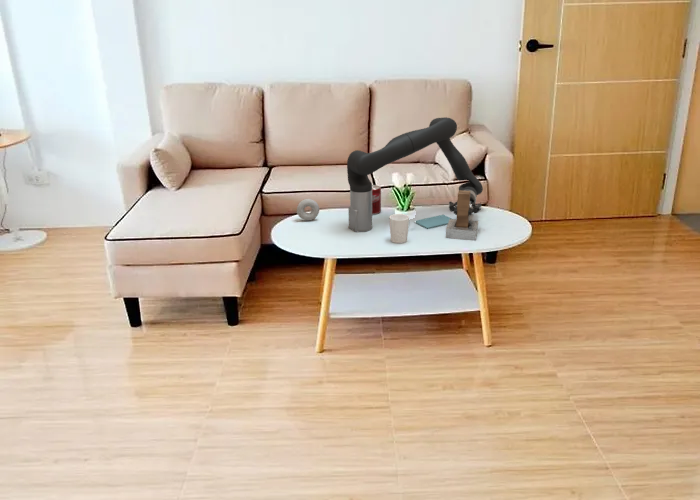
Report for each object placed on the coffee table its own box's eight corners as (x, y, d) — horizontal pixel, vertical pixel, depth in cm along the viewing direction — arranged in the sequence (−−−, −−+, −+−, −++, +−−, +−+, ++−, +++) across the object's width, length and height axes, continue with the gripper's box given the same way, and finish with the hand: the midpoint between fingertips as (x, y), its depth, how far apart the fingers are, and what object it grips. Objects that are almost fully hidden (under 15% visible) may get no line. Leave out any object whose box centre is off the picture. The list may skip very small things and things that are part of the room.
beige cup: (386, 242, 253) (386, 219, 249) (392, 235, 259) (393, 212, 255) (405, 244, 250) (405, 221, 246) (411, 238, 256) (411, 215, 253)
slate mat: (427, 229, 265) (427, 227, 265) (413, 222, 273) (413, 221, 273) (457, 222, 272) (457, 220, 272) (443, 215, 281) (443, 214, 280)
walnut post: (467, 236, 257) (469, 194, 250) (455, 235, 258) (457, 193, 251) (468, 232, 261) (470, 191, 254) (457, 231, 262) (459, 190, 255)
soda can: (379, 215, 283) (379, 189, 278) (363, 214, 284) (363, 189, 280) (382, 210, 289) (382, 185, 285) (366, 209, 291) (366, 184, 286)
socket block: (475, 240, 253) (475, 231, 251) (445, 237, 256) (446, 228, 254) (477, 229, 263) (478, 221, 262) (449, 227, 266) (449, 218, 265)
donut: (319, 218, 280) (318, 197, 277) (320, 220, 277) (319, 199, 273) (297, 219, 279) (295, 198, 275) (297, 222, 276) (296, 200, 272)
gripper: (450, 190, 269) (445, 203, 254) (484, 193, 265) (481, 205, 250) (449, 207, 272) (444, 220, 257) (483, 209, 268) (479, 223, 253)
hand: (462, 213), depth 253 cm, fingers closed on walnut post, 4 cm apart
